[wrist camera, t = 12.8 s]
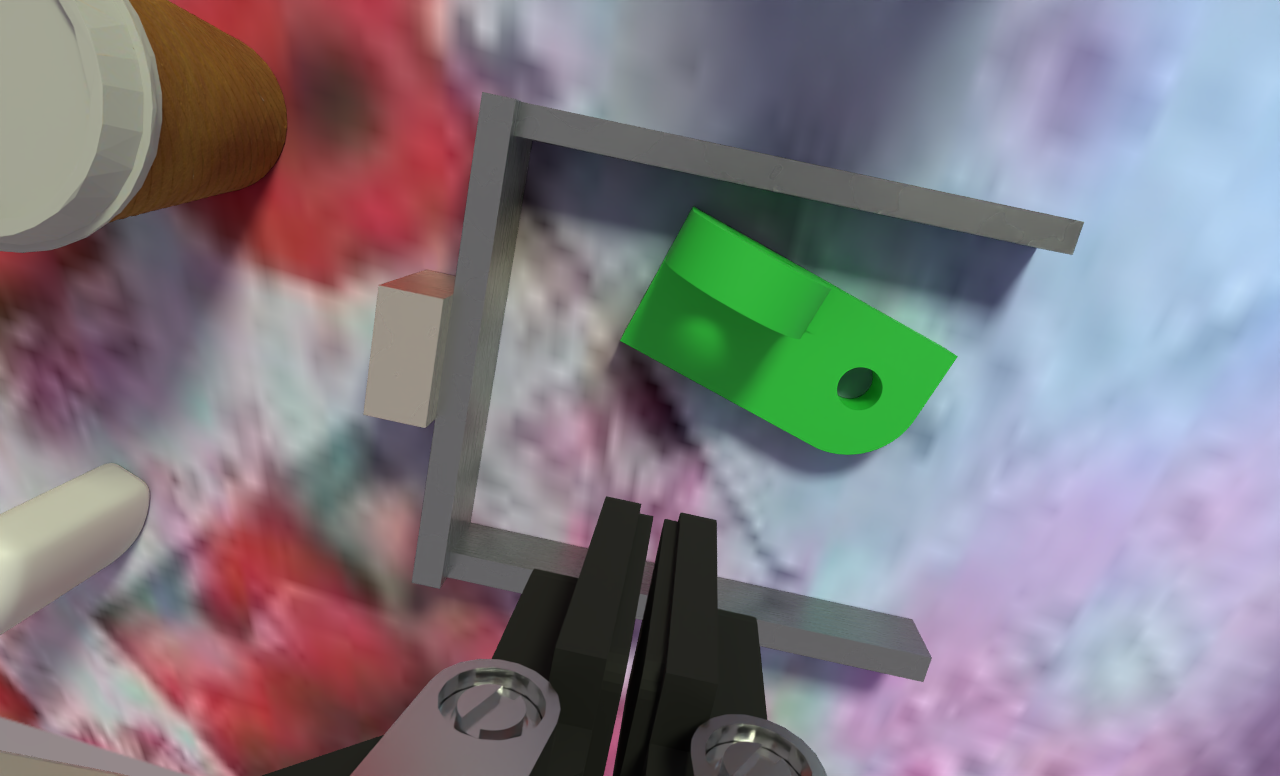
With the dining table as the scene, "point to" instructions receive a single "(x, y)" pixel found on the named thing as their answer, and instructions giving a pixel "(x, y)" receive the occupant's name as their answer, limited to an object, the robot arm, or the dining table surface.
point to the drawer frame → (470, 335)
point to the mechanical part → (782, 340)
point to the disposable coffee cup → (123, 115)
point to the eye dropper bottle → (66, 538)
